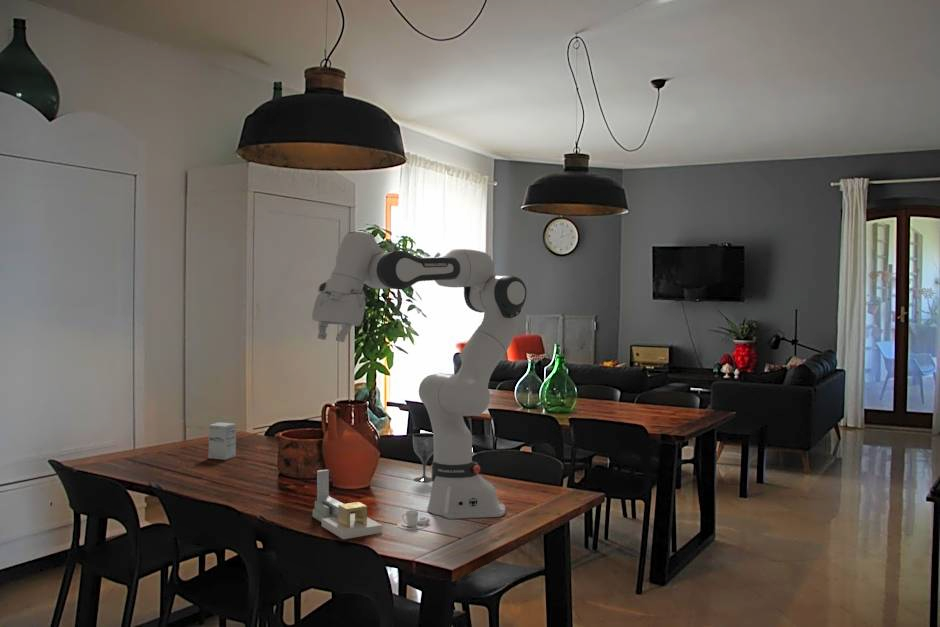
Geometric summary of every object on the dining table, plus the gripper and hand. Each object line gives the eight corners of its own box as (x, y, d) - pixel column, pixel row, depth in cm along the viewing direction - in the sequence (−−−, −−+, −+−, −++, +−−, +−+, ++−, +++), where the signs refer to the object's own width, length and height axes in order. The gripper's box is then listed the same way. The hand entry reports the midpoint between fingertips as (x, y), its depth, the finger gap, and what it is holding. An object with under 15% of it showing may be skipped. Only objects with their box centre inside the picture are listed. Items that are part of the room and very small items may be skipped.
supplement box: (207, 458, 295) (207, 424, 295) (219, 455, 302) (219, 421, 302) (225, 460, 293) (225, 426, 293) (236, 456, 300) (236, 423, 300)
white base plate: (321, 526, 213) (321, 518, 213) (358, 519, 219) (358, 512, 219) (343, 539, 201) (343, 531, 201) (382, 532, 208) (382, 524, 208)
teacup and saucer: (429, 522, 219) (430, 507, 219) (429, 531, 211) (429, 515, 211) (397, 522, 218) (398, 507, 218) (396, 531, 210) (396, 515, 210)
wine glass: (408, 481, 264) (409, 436, 264) (417, 476, 272) (417, 432, 272) (431, 483, 262) (431, 437, 262) (439, 478, 270) (439, 433, 269)
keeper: (338, 522, 209) (338, 504, 209) (358, 519, 212) (358, 501, 212) (346, 527, 205) (346, 509, 205) (366, 524, 208) (367, 506, 208)
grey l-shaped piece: (316, 506, 224) (317, 470, 223) (326, 504, 225) (327, 469, 225) (340, 519, 211) (340, 481, 211) (350, 517, 213) (350, 480, 213)
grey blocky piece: (312, 516, 221) (312, 501, 221) (335, 513, 225) (335, 498, 225) (323, 523, 215) (323, 507, 215) (347, 519, 219) (347, 504, 219)
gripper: (376, 293, 203) (361, 346, 201) (335, 292, 219) (321, 341, 217) (356, 286, 199) (341, 339, 197) (315, 285, 215) (301, 334, 213)
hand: (330, 340), depth 207 cm, fingers open, 8 cm apart
